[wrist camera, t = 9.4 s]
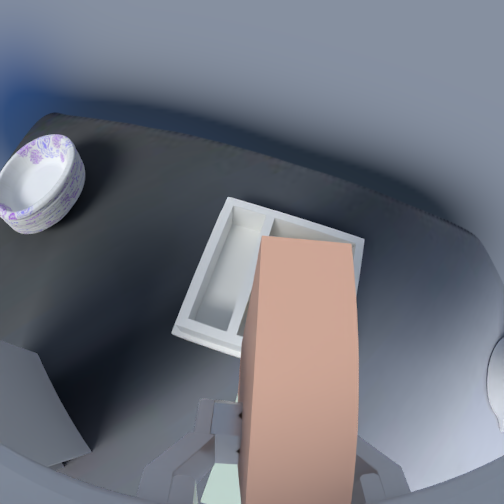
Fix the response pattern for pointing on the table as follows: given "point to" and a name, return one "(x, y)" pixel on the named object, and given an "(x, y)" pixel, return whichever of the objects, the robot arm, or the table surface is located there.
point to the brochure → (34, 411)
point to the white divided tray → (241, 271)
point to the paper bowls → (41, 184)
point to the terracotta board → (300, 375)
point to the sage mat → (222, 484)
